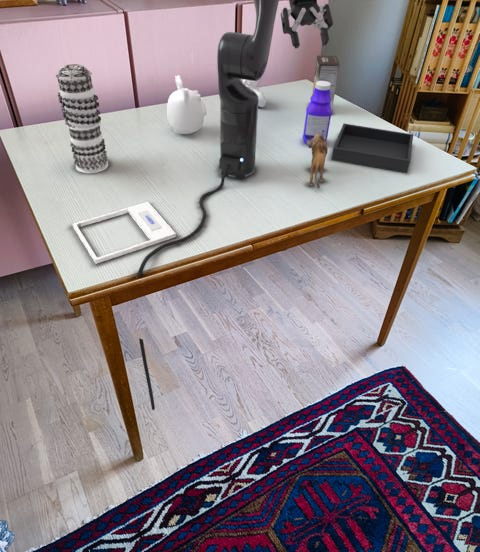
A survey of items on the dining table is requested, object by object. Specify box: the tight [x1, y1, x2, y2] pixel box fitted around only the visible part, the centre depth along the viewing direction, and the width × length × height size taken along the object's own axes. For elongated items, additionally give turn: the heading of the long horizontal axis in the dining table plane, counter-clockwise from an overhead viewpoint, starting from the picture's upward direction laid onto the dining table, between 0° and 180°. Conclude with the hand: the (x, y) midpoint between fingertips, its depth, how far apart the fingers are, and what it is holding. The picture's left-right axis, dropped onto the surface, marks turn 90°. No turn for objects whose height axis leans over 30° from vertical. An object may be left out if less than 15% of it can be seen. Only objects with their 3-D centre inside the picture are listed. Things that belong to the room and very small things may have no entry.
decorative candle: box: [55, 63, 109, 174], centre depth 115 cm, size 9×9×25 cm
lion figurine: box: [306, 134, 328, 189], centre depth 120 cm, size 15×5×9 cm, turn 0°
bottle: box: [302, 81, 333, 145], centre depth 132 cm, size 7×6×17 cm
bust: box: [242, 79, 267, 108], centre depth 155 cm, size 12×8×11 cm
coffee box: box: [311, 54, 341, 115], centre depth 151 cm, size 9×6×16 cm
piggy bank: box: [166, 74, 207, 135], centre depth 136 cm, size 12×12×15 cm
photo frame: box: [71, 201, 177, 265], centre depth 101 cm, size 15×1×18 cm
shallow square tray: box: [331, 122, 414, 174], centre depth 133 cm, size 18×21×4 cm
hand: (311, 45), depth 129 cm, fingers open, 8 cm apart
